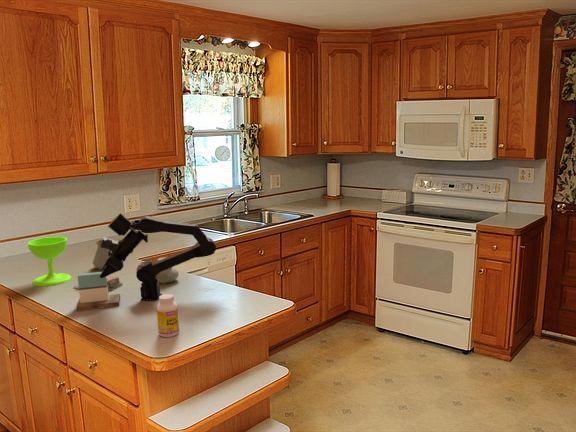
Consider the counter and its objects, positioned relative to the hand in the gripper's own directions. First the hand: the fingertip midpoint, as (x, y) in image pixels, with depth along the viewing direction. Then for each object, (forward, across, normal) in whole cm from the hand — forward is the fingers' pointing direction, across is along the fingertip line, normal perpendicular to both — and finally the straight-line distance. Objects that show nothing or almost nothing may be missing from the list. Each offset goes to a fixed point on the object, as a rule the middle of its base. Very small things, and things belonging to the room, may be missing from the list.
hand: (101, 274), depth 208 cm
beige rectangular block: (+10, 0, +5) cm, 11 cm away
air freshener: (-8, -20, +25) cm, 33 cm away
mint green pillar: (+5, 0, +1) cm, 6 cm away
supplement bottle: (-8, +38, +24) cm, 46 cm away
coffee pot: (+9, -47, +8) cm, 49 cm away
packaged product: (+12, -23, +6) cm, 26 cm away
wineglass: (+26, -39, -9) cm, 47 cm away
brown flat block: (+10, 0, +7) cm, 12 cm away
